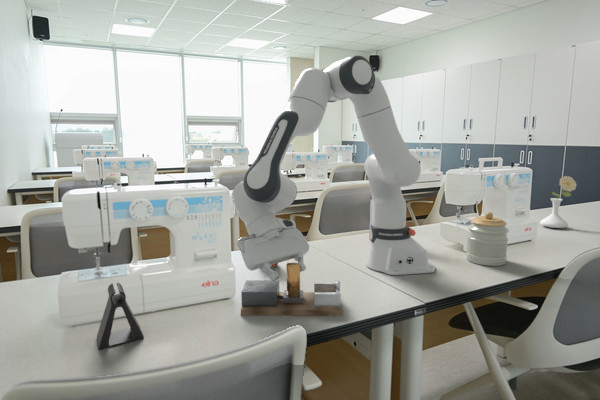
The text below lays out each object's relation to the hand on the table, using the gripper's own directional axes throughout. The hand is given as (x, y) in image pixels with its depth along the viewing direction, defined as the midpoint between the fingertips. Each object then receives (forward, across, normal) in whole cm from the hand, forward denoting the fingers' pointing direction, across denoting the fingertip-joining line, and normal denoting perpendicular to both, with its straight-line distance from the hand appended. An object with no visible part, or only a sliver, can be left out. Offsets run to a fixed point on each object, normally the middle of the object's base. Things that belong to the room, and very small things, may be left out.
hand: (290, 274), depth 102 cm
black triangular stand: (-3, -39, +16) cm, 42 cm away
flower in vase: (+23, +150, -12) cm, 152 cm away
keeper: (+10, +6, 0) cm, 12 cm away
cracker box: (-6, +69, +18) cm, 72 cm away
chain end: (+3, -4, +6) cm, 8 cm away
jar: (+21, +74, -9) cm, 78 cm away
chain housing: (+1, -6, +8) cm, 10 cm away
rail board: (+6, 0, +5) cm, 8 cm away
